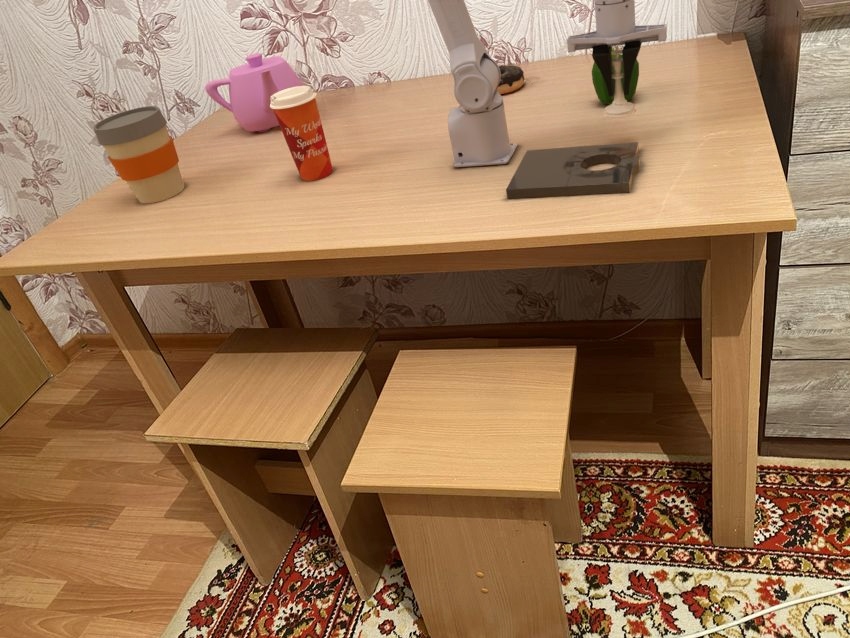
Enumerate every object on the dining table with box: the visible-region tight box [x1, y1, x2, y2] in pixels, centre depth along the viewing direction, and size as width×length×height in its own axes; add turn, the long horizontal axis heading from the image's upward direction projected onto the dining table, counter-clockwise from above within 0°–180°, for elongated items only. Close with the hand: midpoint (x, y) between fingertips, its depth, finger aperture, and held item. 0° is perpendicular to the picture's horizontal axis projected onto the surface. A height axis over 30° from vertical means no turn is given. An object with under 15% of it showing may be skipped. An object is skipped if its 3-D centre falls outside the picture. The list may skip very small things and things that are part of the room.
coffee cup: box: [270, 85, 334, 182], centre depth 124 cm, size 8×8×15 cm
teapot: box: [204, 52, 304, 133], centre depth 155 cm, size 23×21×15 cm
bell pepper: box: [591, 47, 640, 105], centre depth 127 cm, size 8×8×10 cm
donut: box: [496, 64, 526, 95], centre depth 149 cm, size 11×12×4 cm
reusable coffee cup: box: [92, 105, 185, 204], centre depth 132 cm, size 13×13×15 cm
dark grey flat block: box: [505, 141, 641, 200], centre depth 106 cm, size 19×15×2 cm
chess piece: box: [603, 45, 637, 119], centre depth 108 cm, size 5×5×10 cm
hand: (619, 93), depth 109 cm, fingers closed on chess piece
